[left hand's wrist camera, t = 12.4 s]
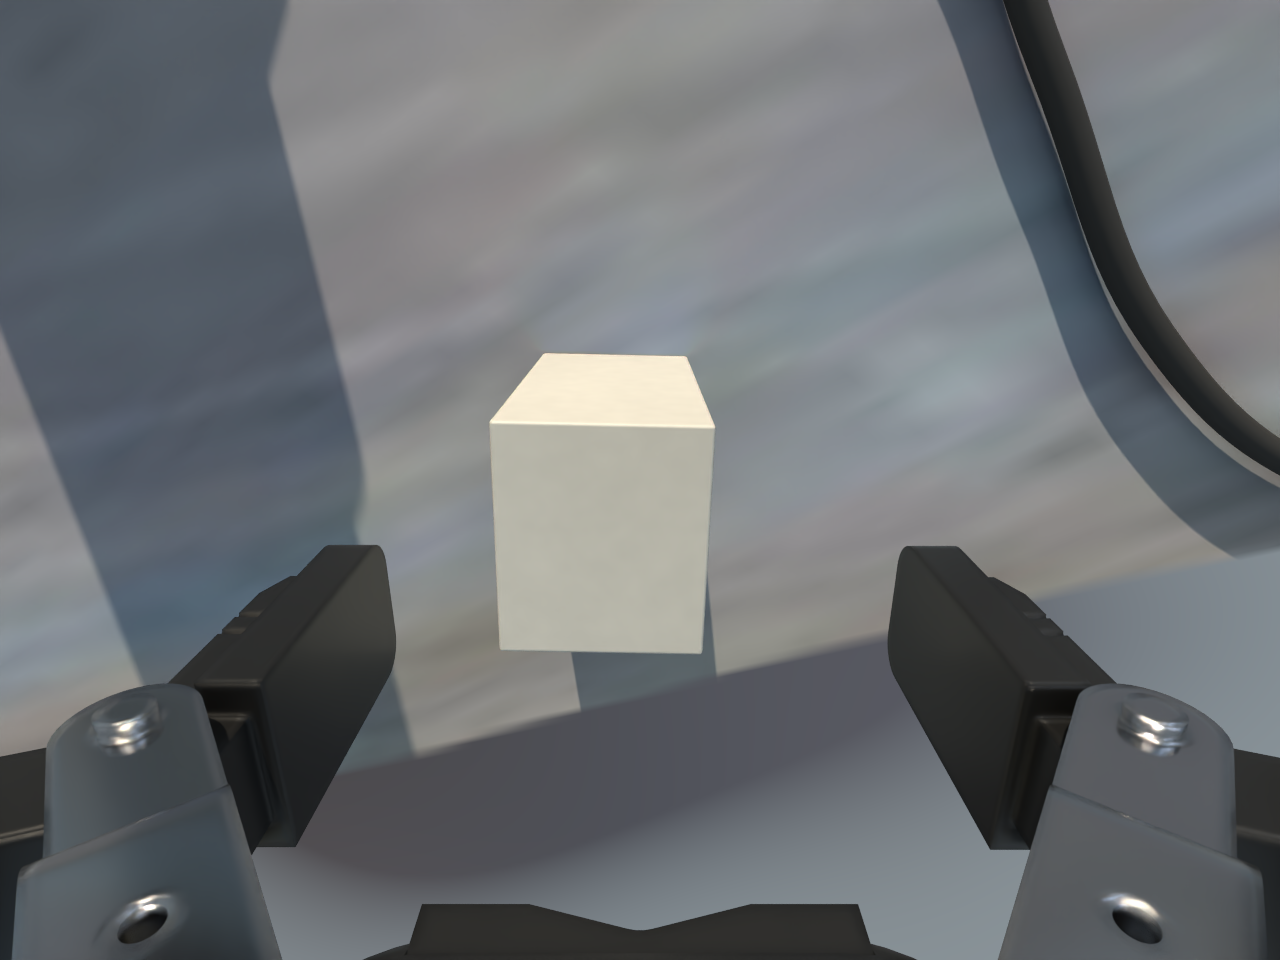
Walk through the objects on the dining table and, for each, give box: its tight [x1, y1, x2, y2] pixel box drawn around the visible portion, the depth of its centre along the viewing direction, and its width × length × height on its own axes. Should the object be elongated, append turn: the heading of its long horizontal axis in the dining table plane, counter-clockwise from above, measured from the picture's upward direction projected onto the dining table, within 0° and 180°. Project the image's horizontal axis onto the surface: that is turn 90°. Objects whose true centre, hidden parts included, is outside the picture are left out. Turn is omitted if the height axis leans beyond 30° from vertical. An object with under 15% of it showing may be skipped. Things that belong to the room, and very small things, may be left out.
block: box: [489, 353, 716, 654], centre depth 19 cm, size 4×5×9 cm
